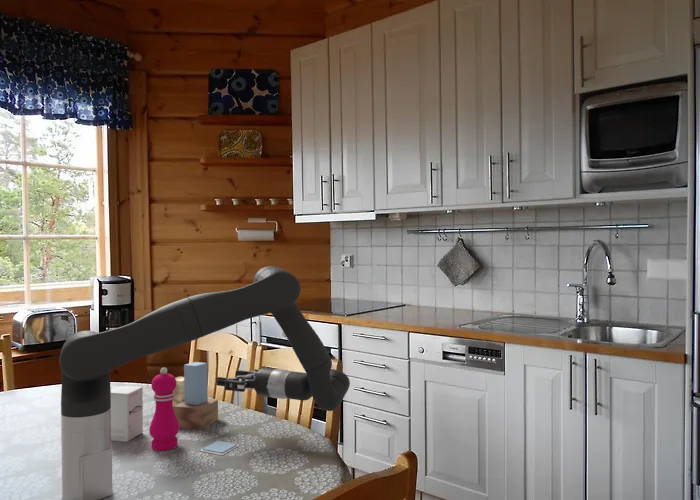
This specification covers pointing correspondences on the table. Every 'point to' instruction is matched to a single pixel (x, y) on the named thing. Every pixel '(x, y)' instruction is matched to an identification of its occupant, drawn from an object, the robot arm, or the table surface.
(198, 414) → the walnut block
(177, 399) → the oak pillar
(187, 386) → the blue pillar
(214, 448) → the tile
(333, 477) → the table surface
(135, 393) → the supplement box
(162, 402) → the pepper mill
